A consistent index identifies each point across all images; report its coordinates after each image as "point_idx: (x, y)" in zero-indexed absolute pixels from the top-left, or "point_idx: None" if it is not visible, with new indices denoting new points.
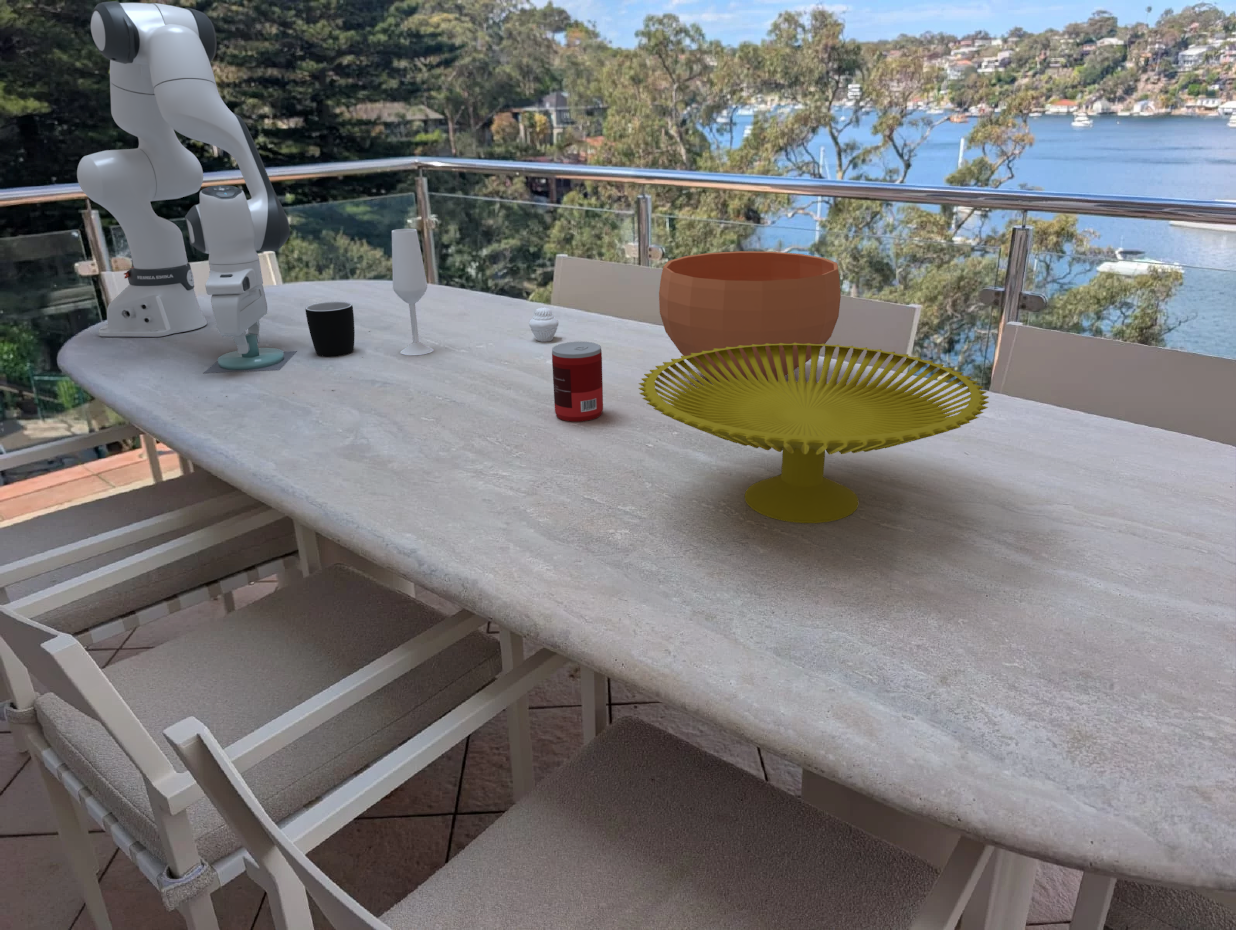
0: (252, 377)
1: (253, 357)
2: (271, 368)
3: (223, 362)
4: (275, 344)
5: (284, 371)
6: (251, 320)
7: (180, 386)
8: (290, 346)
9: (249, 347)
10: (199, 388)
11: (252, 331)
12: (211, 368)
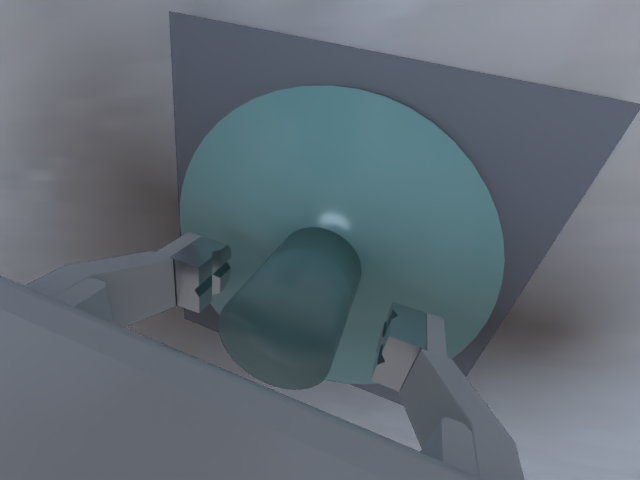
0: (581, 258)
1: (368, 259)
2: (554, 160)
3: None
4: (29, 145)
5: (562, 74)
6: (303, 474)
7: (529, 472)
8: (45, 76)
9: (348, 301)
10: (621, 446)
11: (151, 295)
12: (379, 387)
